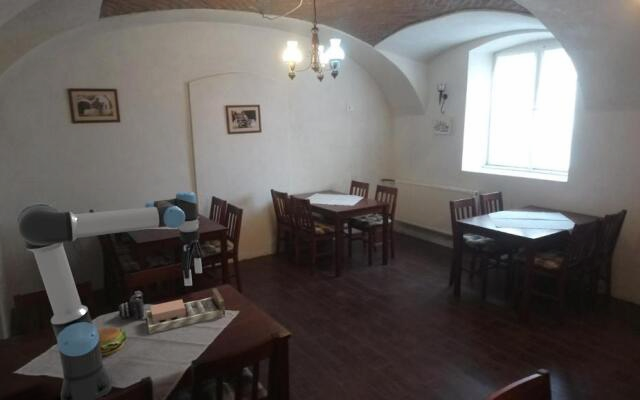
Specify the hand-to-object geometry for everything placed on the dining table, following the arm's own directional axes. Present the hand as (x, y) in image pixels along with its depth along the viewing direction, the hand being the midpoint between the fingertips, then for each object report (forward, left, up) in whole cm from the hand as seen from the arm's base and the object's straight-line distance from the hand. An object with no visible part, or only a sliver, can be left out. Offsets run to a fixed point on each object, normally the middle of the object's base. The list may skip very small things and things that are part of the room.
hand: (193, 278), depth 172 cm
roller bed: (-3, +20, -26) cm, 33 cm away
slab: (-10, +20, -22) cm, 32 cm away
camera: (-25, +35, -26) cm, 50 cm away
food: (-35, +7, -26) cm, 44 cm away
